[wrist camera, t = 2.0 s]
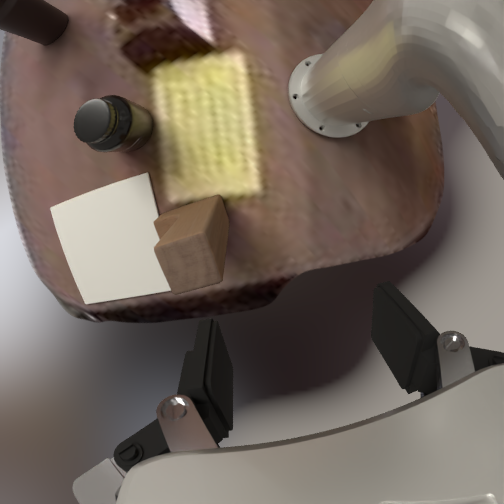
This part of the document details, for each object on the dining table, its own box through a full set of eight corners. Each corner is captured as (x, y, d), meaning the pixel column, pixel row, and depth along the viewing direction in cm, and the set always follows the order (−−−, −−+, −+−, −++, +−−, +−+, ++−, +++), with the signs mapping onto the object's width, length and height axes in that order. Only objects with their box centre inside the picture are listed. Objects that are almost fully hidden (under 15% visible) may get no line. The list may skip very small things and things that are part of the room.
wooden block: (171, 242, 39) (128, 309, 22) (160, 213, 37) (105, 263, 20) (230, 223, 38) (224, 283, 21) (220, 193, 36) (204, 230, 20)
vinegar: (72, 26, 24) (1, -11, 5) (43, 52, 25) (-33, 29, 6) (64, 7, 22) (1, -29, 3) (37, 32, 23) (-31, 8, 4)
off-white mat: (148, 172, 35) (147, 172, 34) (181, 287, 41) (180, 288, 41) (51, 207, 35) (50, 207, 35) (86, 302, 42) (85, 304, 41)
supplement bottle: (141, 158, 34) (101, 163, 23) (104, 141, 33) (56, 142, 21) (163, 114, 32) (130, 100, 21) (124, 98, 31) (82, 82, 19)
